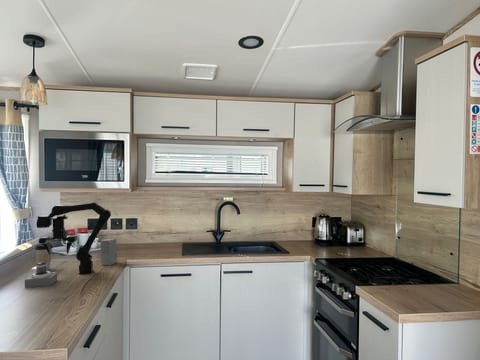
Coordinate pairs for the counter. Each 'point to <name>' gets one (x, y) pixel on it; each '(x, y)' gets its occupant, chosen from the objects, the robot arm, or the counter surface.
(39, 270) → the lens
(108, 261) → the skincare box
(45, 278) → the camera body
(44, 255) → the coffee cup
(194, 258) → the counter surface
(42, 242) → the robot arm
